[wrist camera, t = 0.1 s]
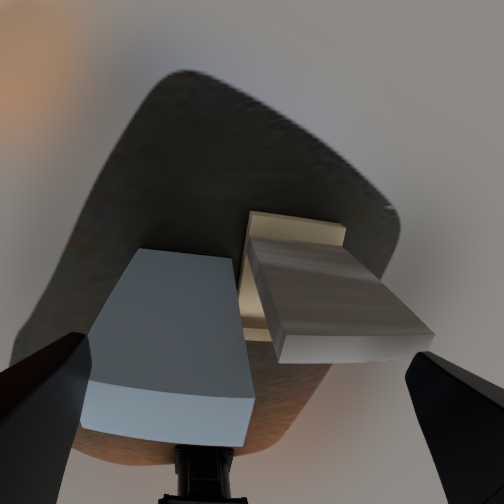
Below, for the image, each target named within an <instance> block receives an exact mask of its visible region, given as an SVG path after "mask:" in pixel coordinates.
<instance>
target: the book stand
mask: <svg viewBox="0 0 504 504" xmlns="http://www.w3.org/2000/svg"><path fill="white" fill-rule="evenodd" d="M345 231H346V228H345V227H344V226H342V225H341V224H339V223H333V222H326V221H320V220H313V219H306V218H300V217H293V216H286V215H279V214H271V213H264V212H256V211H250V214H249V221H248V227H247V233H246V239H245V246H244V252H243V258H242V264H241V271H240V277H239V284H238V290H237V296H238V302H239V308H240V314H241V320H242V326H243V332H244V338H245V340H255V341H272V342H273V346H274V349H275V353H276V356H277V359H278V363H355V362H356V363H357V362H376V361H392V360H405V359H413V357H414V356H415V354H416V353H417V352H422V351H428V348H429V346H430V344H431V342H432V340H433V338H434V336H435V334H434V333H433V332H432V331H431V330H430V329H429V328H428V327H427V326H426V325H425V324H424V323H423V322H422V321H421V320H420V319H419V318H418V317H417V316H416V315H415V314H414V313H413V312H412V311H411V310H410V309H409V308H408V307H407V306H406V305H405V304H404V303H403V302H402V301H401V300H400V299H399V298H398V297H396V296H395V295H394V294H393V293H392V292H391V291H390V290H389V289H388V288H387V287H386V286H385V285H384V284H383V283H382V282H381V281H380V280H379V279H377V278H376V277H375V276H374V275H373V274H372V273H371V272H370V271H369V270H368V269H367V268H366V267H364V266H363V265H362V264H361V263H360V262H359V261H358V260H357V259H356V258H355V257H353V256H352V255H351V254H350V253H349V252H348V251H347V250H346V249H344V248H343V247H342V244H343V240H344V236H345Z"/></svg>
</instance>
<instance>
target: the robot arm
mask: <svg viewBox="0 0 504 504" xmlns="http://www.w3.org/2000/svg"><path fill="white" fill-rule="evenodd" d="M91 369H92V357H91V351H90V345H89V339H88V336H87V335H86V334H83V333H77V332H71V333H69V334H67V335H65V336H63V337H61V338H60V339H58V340H56V341H54V342H53V343H51V344H49V345H47V346H46V347H44V348H42V349H40V350H39V351H37V352H35V353H33V354H32V355H30V356H28V357H26V358H25V359H23V360H21V361H19V362H18V363H16V364H14V365H12V366H11V367H9V368H7V369H5V370H4V371H2V372H0V504H56V502H57V498H58V494H59V490H60V486H61V482H62V478H63V475H64V471H65V467H66V464H67V460H68V457H69V453H70V450H71V447H72V444H73V440H74V437H75V434H76V431H77V428H78V425H79V421H80V418H81V413H82V409H83V404H84V399H85V395H86V390H87V386H88V382H89V377H90V373H91ZM405 381H406V384H407V387H408V390H409V393H410V397H411V400H412V403H413V406H414V410H415V413H416V416H417V419H418V422H419V425H420V427H421V430H422V432H423V435H424V437H425V440H426V442H427V445H428V447H429V450H430V453H431V455H432V458H433V461H434V463H435V466H436V469H437V472H438V474H439V477H440V480H441V483H442V486H443V489H444V492H445V495H446V498H447V501H448V504H504V389H503V388H501V387H498V386H496V385H495V384H493V383H491V382H489V381H487V380H485V379H483V378H481V377H479V376H477V375H475V374H473V373H471V372H469V371H467V370H465V369H463V368H461V367H459V366H457V365H455V364H453V363H451V362H449V361H447V360H445V359H443V358H441V357H439V356H437V355H435V354H433V353H431V352H429V351H422V352H417V353H416V354H415V356H414V357H413V360H412V362H411V364H410V366H409V368H408V370H407V371H406V375H405ZM233 455H234V451H233V450H232V449H219V448H200V447H186V446H176V447H175V473H176V474H178V495H177V496H174V495H169V494H164V498H162V499H159V500H158V504H248V501H247V498H246V497H241V498H231V493H230V483H229V472H230V468H231V464H232V460H233Z"/></svg>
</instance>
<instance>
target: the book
mask: <svg viewBox="0 0 504 504" xmlns="http://www.w3.org/2000/svg"><path fill="white" fill-rule="evenodd" d="M88 339H89V345H90V351H91V357H92V369H91V373H90V377H89V382H88V386H87V390H86V395H85V399H84V404H83V409H82V413H81V418H80V421H81V424H82V427H83V428H87V429H91V430H96V431H100V432H105V433H110V434H116V435H121V436H127V437H133V438H139V439H146V440H153V441H161V442H170V443H180V444H192V445H208V446H238V447H243V444H244V440H245V436H246V432H247V429H248V425H249V421H250V417H251V413H252V409H253V405H254V401H255V395H254V389H253V384H252V378H251V372H250V367H249V361H248V355H247V349H246V344H245V338H244V332H243V326H242V320H241V314H240V308H239V302H238V296H237V290H236V284H235V277H234V271H233V265H232V259H231V258H222V257H213V256H204V255H195V254H186V253H177V252H168V251H159V250H150V249H141V248H139V249H138V250H137V252H136V254H135V255H134V257H133V258H132V260H131V261H130V263H129V265H128V266H127V268H126V270H125V271H124V273H123V274H122V276H121V278H120V279H119V281H118V283H117V284H116V286H115V288H114V289H113V291H112V293H111V295H110V296H109V298H108V300H107V301H106V303H105V305H104V307H103V308H102V310H101V312H100V314H99V316H98V317H97V319H96V321H95V323H94V325H93V326H92V328H91V330H90V332H89V334H88Z"/></svg>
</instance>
